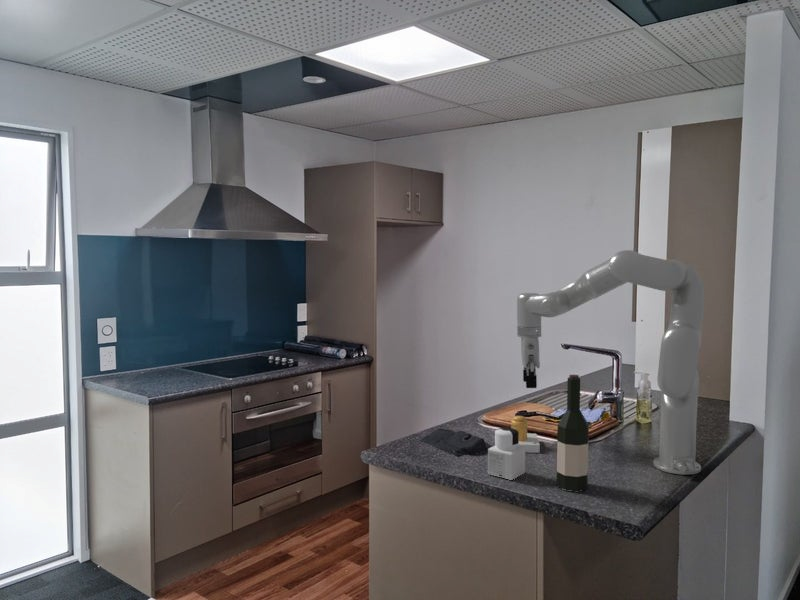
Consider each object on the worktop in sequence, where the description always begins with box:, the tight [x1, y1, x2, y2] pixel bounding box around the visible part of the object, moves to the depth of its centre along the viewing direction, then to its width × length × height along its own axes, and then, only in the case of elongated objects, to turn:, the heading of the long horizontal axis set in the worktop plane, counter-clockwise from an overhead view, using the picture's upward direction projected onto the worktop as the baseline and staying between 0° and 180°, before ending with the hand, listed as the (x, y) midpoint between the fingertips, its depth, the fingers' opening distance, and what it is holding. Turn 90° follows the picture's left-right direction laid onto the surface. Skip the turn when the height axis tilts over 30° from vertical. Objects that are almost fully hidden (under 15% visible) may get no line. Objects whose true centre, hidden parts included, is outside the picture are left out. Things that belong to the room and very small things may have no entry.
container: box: [487, 427, 526, 481], centre depth 175 cm, size 8×8×13 cm
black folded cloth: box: [419, 428, 493, 457], centre depth 202 cm, size 15×22×5 cm
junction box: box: [518, 432, 541, 454], centre depth 203 cm, size 18×12×6 cm, turn 173°
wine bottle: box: [556, 374, 590, 491], centre depth 165 cm, size 8×8×30 cm
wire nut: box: [510, 415, 528, 441], centre depth 200 cm, size 5×5×7 cm
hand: (529, 384), depth 200 cm, fingers open, 9 cm apart
